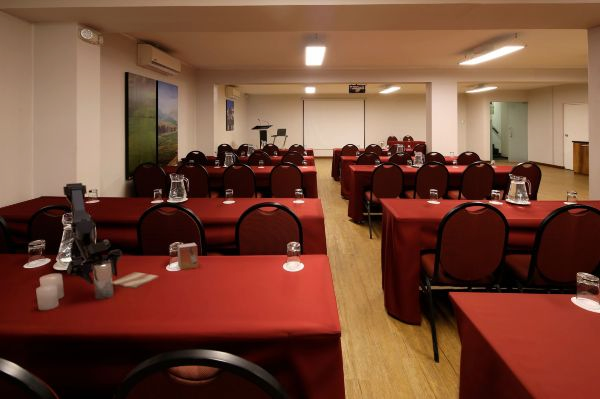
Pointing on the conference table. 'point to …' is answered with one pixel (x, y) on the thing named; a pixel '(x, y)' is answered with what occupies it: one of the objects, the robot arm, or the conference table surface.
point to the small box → (187, 256)
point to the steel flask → (103, 280)
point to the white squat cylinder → (47, 297)
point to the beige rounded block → (53, 282)
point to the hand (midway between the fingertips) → (104, 279)
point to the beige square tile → (134, 280)
